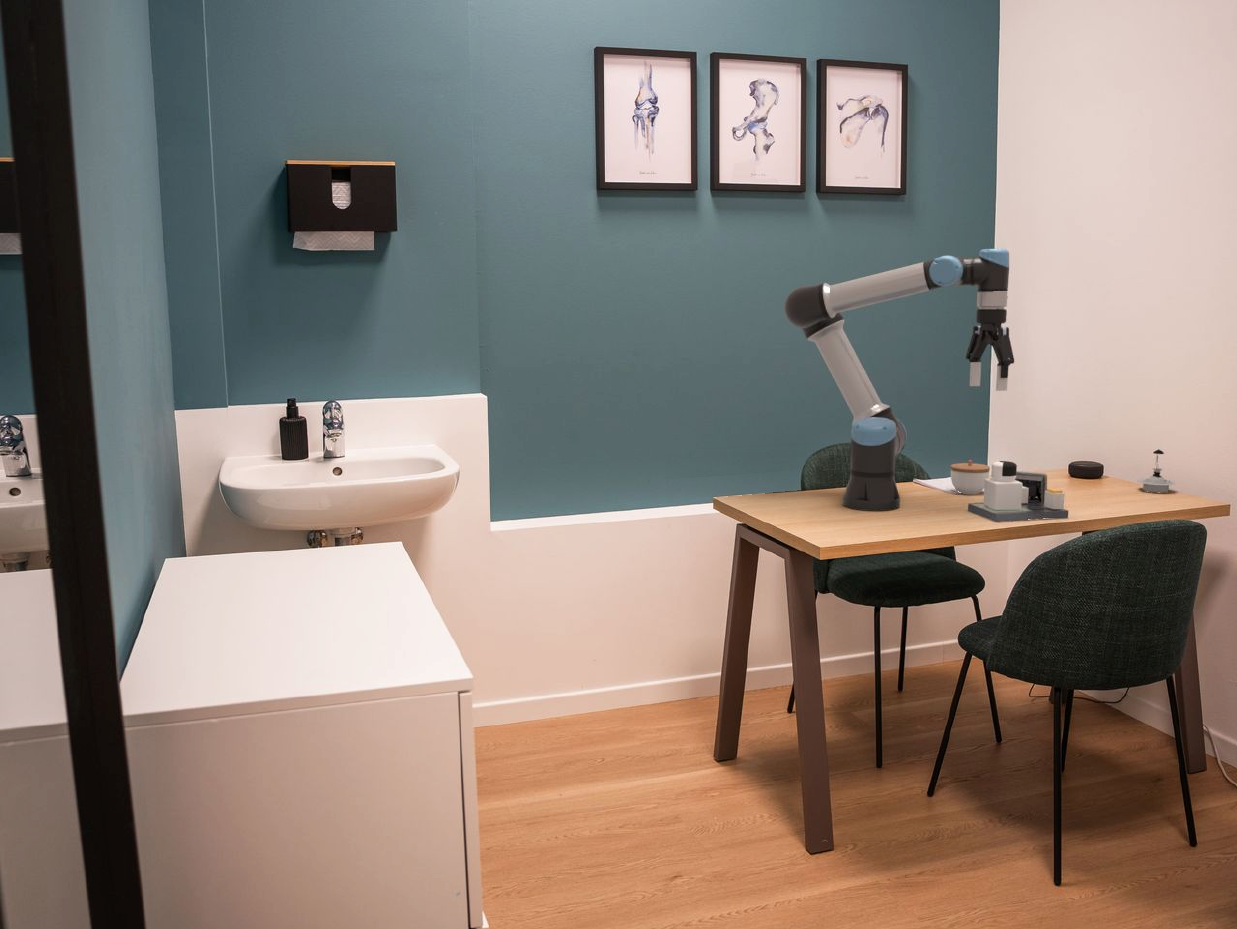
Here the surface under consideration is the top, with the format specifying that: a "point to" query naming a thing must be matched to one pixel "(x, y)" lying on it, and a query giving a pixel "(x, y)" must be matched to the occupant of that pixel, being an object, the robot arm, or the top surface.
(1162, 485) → the grey stand with stem
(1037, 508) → the panel
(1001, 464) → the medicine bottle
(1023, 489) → the breaker
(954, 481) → the lidded jar
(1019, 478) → the electrical switch
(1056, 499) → the block
